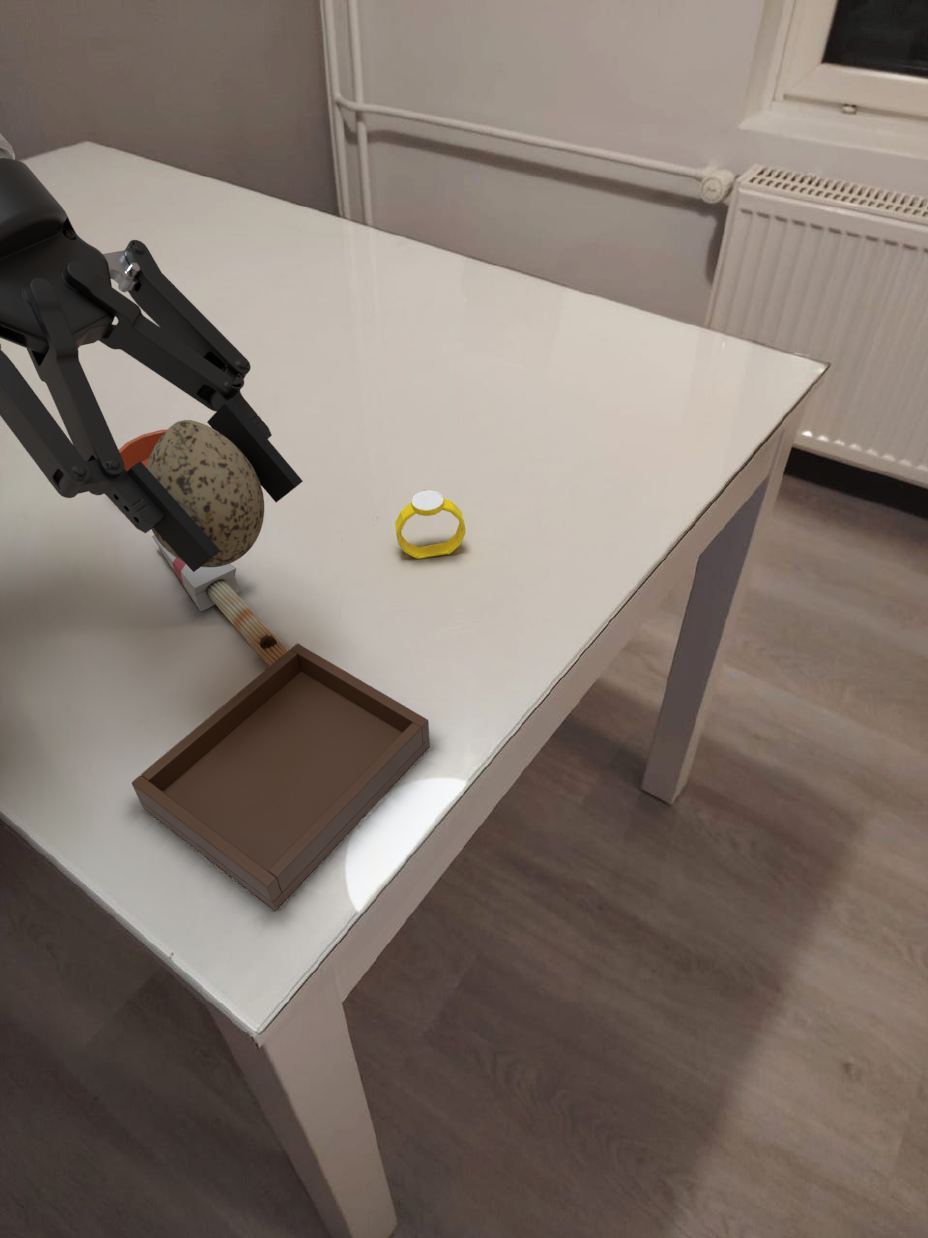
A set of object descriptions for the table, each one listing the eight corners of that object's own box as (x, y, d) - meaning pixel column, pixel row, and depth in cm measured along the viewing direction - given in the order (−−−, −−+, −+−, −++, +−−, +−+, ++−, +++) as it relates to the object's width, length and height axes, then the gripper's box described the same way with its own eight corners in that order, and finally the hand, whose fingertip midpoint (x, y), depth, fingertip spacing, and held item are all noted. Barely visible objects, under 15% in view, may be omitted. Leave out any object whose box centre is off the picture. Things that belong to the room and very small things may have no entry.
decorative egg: (204, 608, 53) (165, 474, 46) (140, 556, 57) (95, 424, 50) (295, 553, 57) (272, 421, 50) (230, 508, 60) (200, 378, 53)
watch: (462, 539, 79) (461, 485, 75) (467, 559, 77) (467, 505, 73) (396, 546, 78) (392, 493, 74) (400, 566, 76) (396, 513, 72)
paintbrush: (182, 508, 77) (301, 641, 67) (189, 531, 79) (305, 664, 69) (141, 525, 75) (256, 664, 65) (149, 548, 77) (262, 687, 67)
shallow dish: (111, 514, 82) (101, 488, 80) (130, 456, 88) (122, 431, 86) (214, 509, 82) (207, 483, 80) (225, 451, 89) (219, 426, 87)
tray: (275, 911, 53) (267, 887, 51) (142, 808, 59) (130, 782, 57) (430, 745, 62) (428, 719, 60) (302, 669, 68) (297, 642, 66)
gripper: (85, 186, 56) (317, 466, 62) (-217, 306, 44) (108, 642, 50) (122, 105, 51) (374, 421, 56) (-212, 216, 38) (154, 607, 44)
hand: (249, 524), depth 53 cm, fingers closed on decorative egg, 7 cm apart
